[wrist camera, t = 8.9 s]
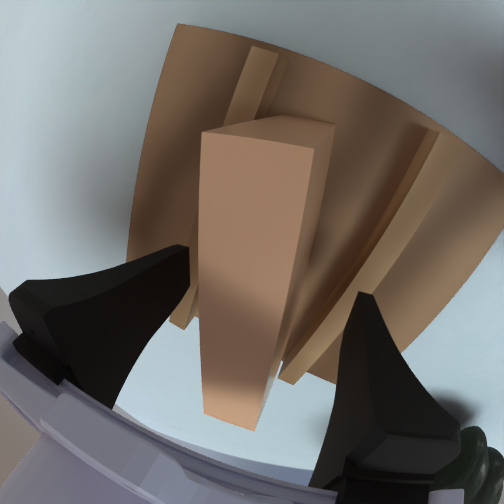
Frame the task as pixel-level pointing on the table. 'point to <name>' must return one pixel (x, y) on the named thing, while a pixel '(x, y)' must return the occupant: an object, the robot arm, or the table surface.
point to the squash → (473, 470)
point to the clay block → (254, 253)
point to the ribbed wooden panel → (335, 193)
